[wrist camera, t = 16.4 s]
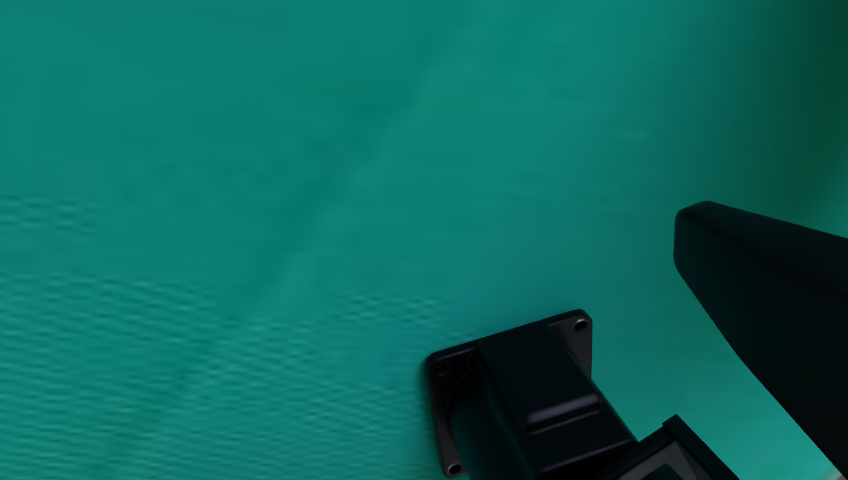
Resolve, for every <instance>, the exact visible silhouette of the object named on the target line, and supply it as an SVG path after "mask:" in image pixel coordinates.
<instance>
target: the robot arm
mask: <svg viewBox="0 0 848 480" xmlns="http://www.w3.org/2000/svg"><path fill="white" fill-rule="evenodd" d="M673 257H674V263H675V266H676V268H677V270H678V272H679V274H680V275H681V277H682V278H683V279H684V281H685V282H686V284H687V285H688V287H689V288H690V289H691V291H692V292H693V294H694V295H695V296H696V298H697V299H698V301H699V302H700V303H701V305H702V306H703V308H704V309H705V311H706V312H707V313H708V315H709V316H710V318H711V319H712V320H713V322H714V323H715V325H716V326H717V328H718V329H719V330H720V332H721V333H722V335H723V336H724V337H725V339H726V340H727V342H728V343H729V344H730V346H731V347H732V348H733V350H734V351H735V352H736V354H737V355H738V356H739V358H740V359H741V360H742V361H743V362H744V364H745V365H746V366H747V367H748V368H749V370H750V371H751V372H752V373H753V374H754V375H755V376H756V378H757V379H758V380H759V381H760V382H761V383H762V384H763V386H764V387H765V388H766V389H767V390H768V391H769V392H770V393H771V395H772V396H773V397H774V398H775V399H776V400H777V401H778V402H779V404H780V405H781V406H782V407H783V408H784V409H785V410H786V412H787V413H788V414H789V415H790V416H791V417H792V418H793V419H794V421H795V422H796V423H797V424H798V425H799V426H800V427H801V428H802V430H803V431H804V432H805V433H806V434H807V435H808V436H809V438H810V439H811V440H812V441H813V442H814V443H815V444H816V445H817V447H818V448H819V449H820V450H821V451H822V452H823V453H824V455H825V456H826V457H827V458H828V459H829V460H830V461H831V462H832V464H833V465H834V466H835V467H836V468H837V469H838V470H839V471H840V473H841V474H842V475H843V476H844V477H845V478H846V479H847V480H848V238H844V237H840V236H837V235H833V234H829V233H826V232H822V231H818V230H814V229H811V228H807V227H803V226H800V225H796V224H792V223H789V222H785V221H781V220H778V219H774V218H770V217H767V216H763V215H759V214H755V213H752V212H748V211H744V210H741V209H737V208H733V207H730V206H726V205H722V204H719V203H715V202H711V201H702V202H699V203H696V204H693V205H691V206H688V207H686V208H683V209H681V210H680V211H678V213H677V215H676V217H675V231H674V251H673ZM579 321H580V322H579ZM578 322H579V323H578ZM576 323H578V324H577V325H576ZM440 364H443V365H442V366H440V367H438V368H436V367H437V366H438V365H440ZM591 366H592V319H591V318H590V316H589V315H588V314H587V313H586V312H585V311H584V310H581V309H577V310H573V311H569V312H566V313H563V314H560V315H556V316H553V317H550V318H546V319H543V320H540V321H537V322H533V323H530V324H527V325H523V326H520V327H517V328H513V329H510V330H507V331H504V332H500V333H497V334H494V335H490V336H487V337H484V338H481V339H477V340H474V341H471V342H467V343H464V344H461V345H458V346H454V347H451V348H448V349H444V350H441V351H438V352H435V353H433V354H431V355H430V356H429V357H428V358H427V359H426V361H425V372H426V378H427V384H428V391H429V397H430V404H431V410H432V416H433V423H434V429H435V435H436V442H437V448H438V455H439V461H440V466H441V469H442V471H443V473H444V476H445V477H447V478H455V477H459V476H462V475H465V474H468V476H469V478H470V480H740V479H739V478H738V477H737V476H736V475H735V474H734V473H733V472H732V471H731V470H730V469H729V468H728V467H727V466H726V465H725V464H724V463H723V462H722V461H721V460H720V459H719V458H718V457H717V455H716V454H715V453H714V452H713V451H712V450H711V449H710V448H709V447H708V446H707V445H706V444H705V443H704V442H703V441H702V440H701V439H700V438H699V437H698V436H697V435H696V434H695V433H694V432H693V431H692V430H691V429H690V427H689V426H688V425H687V424H686V423H685V422H684V421H683V420H682V419H681V418H680V417H679V416H678V415H677V414H675V415H674V416H672V417H671V418H669V419H668V420H666V421H665V422H663V423H662V425H663V426H662V427H661V428H659V429H658V430H656V431H655V432H653V433H652V434H650V435H649V436H647V437H646V438H644V439H643V440H641V441H640V442H638V440H637V439H636V438H635V436H634V435H633V434H632V432H631V431H630V430H629V428H628V427H627V426H626V424H625V423H624V422H623V420H622V419H621V418H620V416H619V415H618V414H617V412H616V411H615V410H614V408H613V407H612V406H611V404H610V403H609V402H608V400H607V399H606V398H605V396H604V395H603V394H602V392H601V391H600V390H599V388H598V387H597V386H596V384H595V383H594V382H593V380H592V379H591Z"/></svg>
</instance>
